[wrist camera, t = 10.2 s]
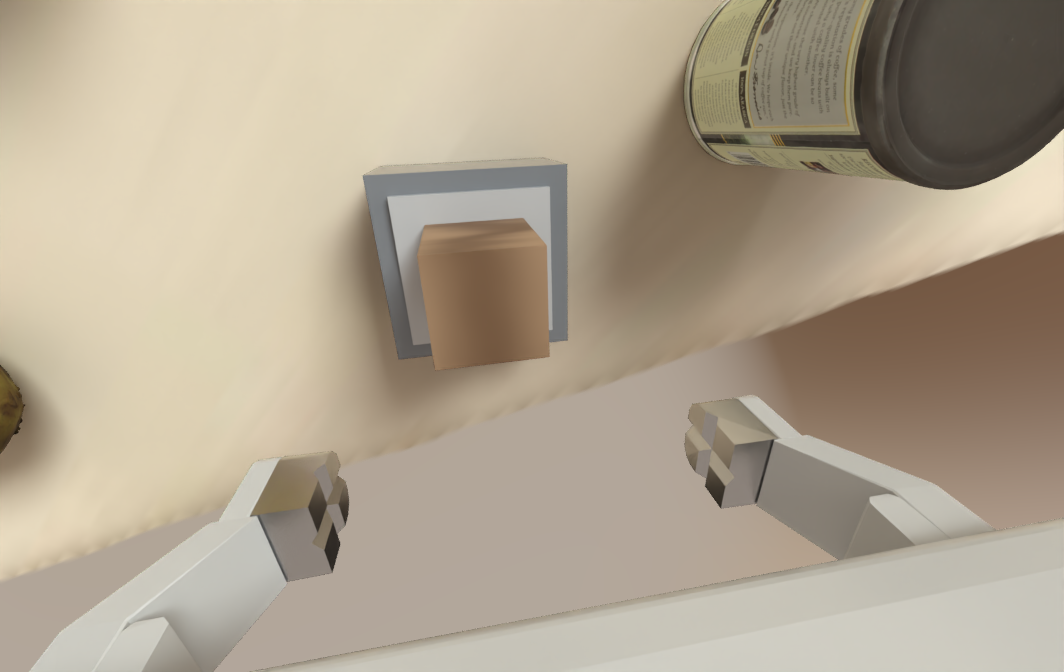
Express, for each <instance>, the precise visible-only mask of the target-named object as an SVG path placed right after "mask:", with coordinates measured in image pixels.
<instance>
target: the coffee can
mask: <svg viewBox="0 0 1064 672" xmlns="http://www.w3.org/2000/svg"><path fill="white" fill-rule="evenodd" d="M684 105H685V109H686V114H687V119H688V122H689V125H690V128H691V130H692V132H693V134H694V136H695V138H696V140H697V141H698V142H699V144H700V145H701V146H702V147H703V148H704V149H705V150H706V151H707V152H708V154H710V155H712V156H713V157H715V158H717V159H719V160H721V161H723V162H726V163H730V164H735V165H757V166H766V167H774V168H785V169H795V170H805V171H815V172H823V173H833V174H842V175H848V176H860V177H870V178H880V179H889V180H899V181H907V182H909V183H912V184H915V185H918V186H923V187H928V188H933V189H944V190H954V189H963V188H968V187H972V186H976V185H979V184H982V183H985V182H988V181H990V180H992V179H995V178H997V177H999V176H1001V175H1003V174H1005V173H1007V172H1009V171H1011V170H1013V169H1014V168H1016V167H1018V166H1019V165H1021V164H1023V163H1024V162H1025V161H1027V160H1028V159H1030V158H1031V157H1032V156H1034V155H1035V154H1036V153H1038V152H1039V151H1040V150H1041V149H1043V148H1044V147H1045V146H1046V145H1047V144H1048V143H1050V142H1051V140H1052V139H1053V138H1054V137H1055V136H1056V135H1057V134H1058V133H1060V132H1061V131H1062V130H1063V129H1064V0H725V1H724V2H723V3H722V4H721V5H720V6H719V7H718V8H717V9H716V10H715V11H714V12H713V14H712V15H711V16H710V17H709V19H708V20H707V21H706V23H705V24H704V25H703V27H702V29H701V31H700V33H699V35H698V37H697V39H696V42H695V44H694V46H693V48H692V51H691V54H690V57H689V61H688V64H687V69H686V74H685V82H684Z"/></svg>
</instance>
